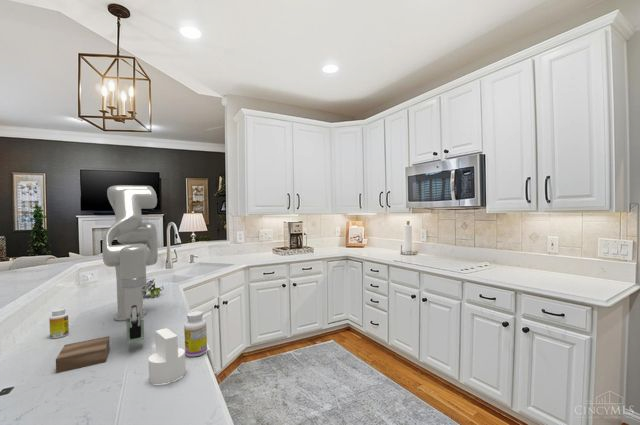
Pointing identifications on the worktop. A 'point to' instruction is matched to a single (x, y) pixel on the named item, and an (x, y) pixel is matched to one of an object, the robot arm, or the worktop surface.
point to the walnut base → (83, 354)
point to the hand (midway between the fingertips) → (135, 334)
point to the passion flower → (152, 285)
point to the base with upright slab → (166, 358)
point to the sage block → (129, 330)
